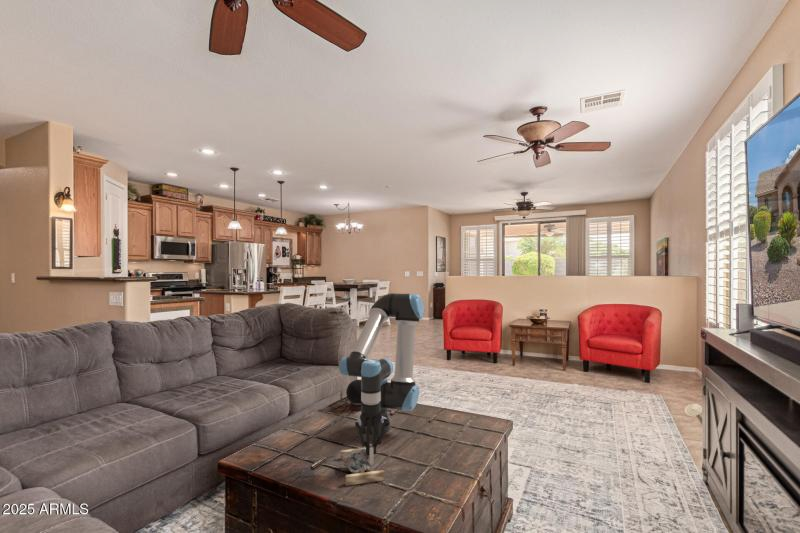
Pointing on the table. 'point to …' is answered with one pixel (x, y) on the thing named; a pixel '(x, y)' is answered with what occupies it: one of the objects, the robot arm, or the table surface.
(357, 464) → the mineral specimen
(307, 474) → the dark gray rectangular slab
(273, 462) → the table surface
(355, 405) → the black round piece
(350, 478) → the wooden slats
